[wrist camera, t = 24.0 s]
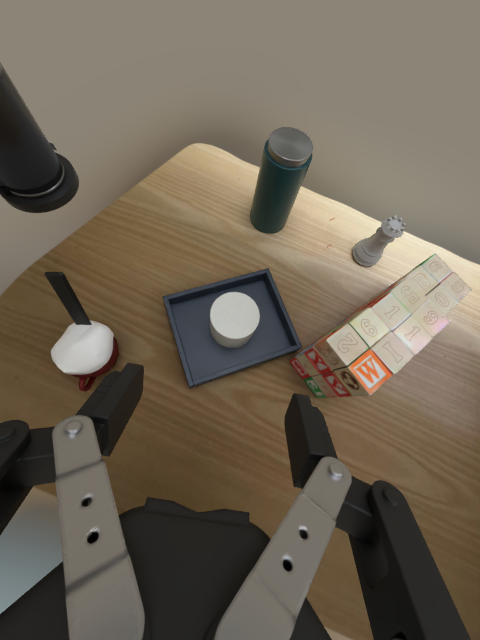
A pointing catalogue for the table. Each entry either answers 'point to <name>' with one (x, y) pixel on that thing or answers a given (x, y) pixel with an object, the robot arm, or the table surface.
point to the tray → (209, 356)
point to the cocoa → (81, 339)
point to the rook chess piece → (378, 241)
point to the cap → (233, 319)
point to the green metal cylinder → (280, 178)
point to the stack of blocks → (382, 333)
